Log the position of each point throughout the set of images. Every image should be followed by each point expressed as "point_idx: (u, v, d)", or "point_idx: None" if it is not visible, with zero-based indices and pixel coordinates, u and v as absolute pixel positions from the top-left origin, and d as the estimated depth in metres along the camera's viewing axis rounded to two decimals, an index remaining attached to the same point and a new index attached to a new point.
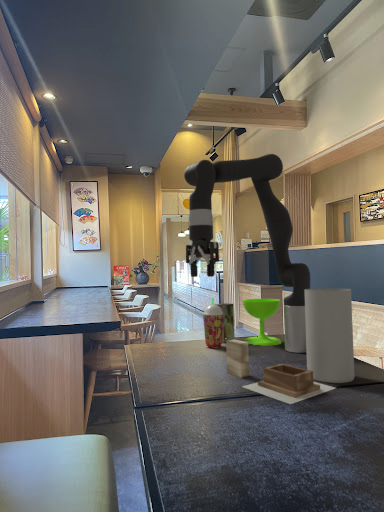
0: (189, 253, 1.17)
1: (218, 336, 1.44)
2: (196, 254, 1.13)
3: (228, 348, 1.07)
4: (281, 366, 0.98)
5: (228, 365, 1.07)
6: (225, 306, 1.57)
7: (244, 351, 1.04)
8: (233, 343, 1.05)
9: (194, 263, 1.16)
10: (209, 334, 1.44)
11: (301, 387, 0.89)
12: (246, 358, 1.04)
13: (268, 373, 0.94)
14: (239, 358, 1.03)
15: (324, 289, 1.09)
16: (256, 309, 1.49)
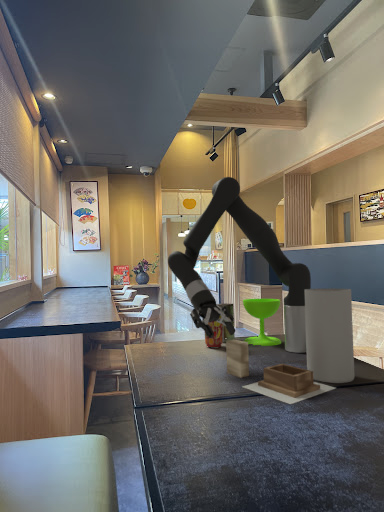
0: None
1: (218, 336, 1.44)
2: None
3: (228, 348, 1.07)
4: (281, 366, 0.98)
5: (228, 365, 1.07)
6: None
7: (244, 351, 1.04)
8: (233, 343, 1.05)
9: (226, 322, 1.17)
10: None
11: (301, 387, 0.89)
12: (246, 358, 1.04)
13: (268, 373, 0.94)
14: (239, 358, 1.03)
15: (324, 289, 1.09)
16: (256, 309, 1.49)
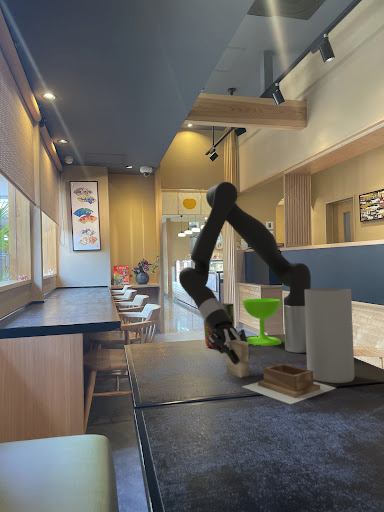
0: (239, 339, 1.12)
1: None
2: None
3: None
4: (281, 366, 0.98)
5: (228, 365, 1.07)
6: (225, 306, 1.57)
7: (244, 351, 1.04)
8: (233, 343, 1.05)
9: None
10: (209, 334, 1.44)
11: (301, 387, 0.89)
12: (246, 358, 1.04)
13: (268, 373, 0.94)
14: (239, 358, 1.03)
15: (324, 289, 1.09)
16: (256, 309, 1.49)
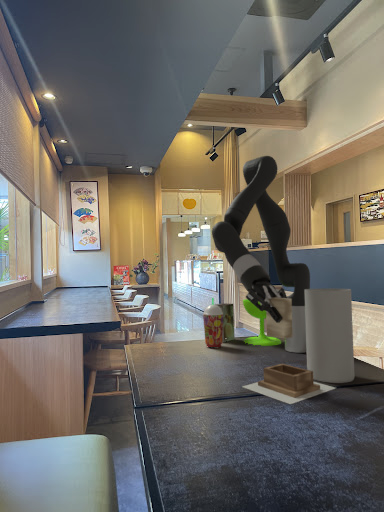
0: None
1: (218, 336, 1.44)
2: None
3: None
4: (281, 366, 0.98)
5: (268, 325, 0.97)
6: (225, 306, 1.57)
7: (288, 308, 0.93)
8: (274, 300, 0.95)
9: None
10: (209, 334, 1.44)
11: (301, 387, 0.89)
12: (289, 316, 0.94)
13: (268, 373, 0.94)
14: (282, 315, 0.93)
15: (324, 289, 1.09)
16: (256, 309, 1.49)
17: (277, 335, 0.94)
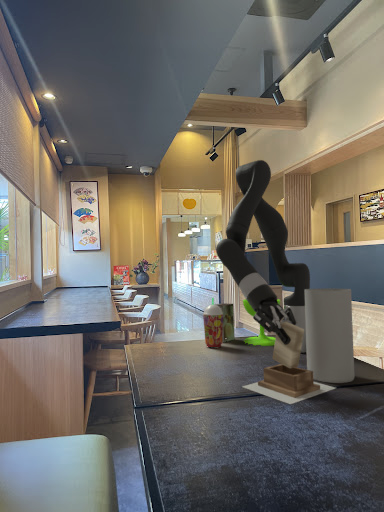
0: None
1: (218, 336, 1.44)
2: None
3: None
4: (281, 366, 0.98)
5: (275, 349, 0.95)
6: (225, 306, 1.57)
7: (299, 339, 0.91)
8: (287, 328, 0.92)
9: None
10: (209, 334, 1.44)
11: (301, 387, 0.89)
12: (299, 346, 0.92)
13: (268, 373, 0.94)
14: (292, 346, 0.91)
15: (324, 289, 1.09)
16: None
17: (283, 362, 0.93)
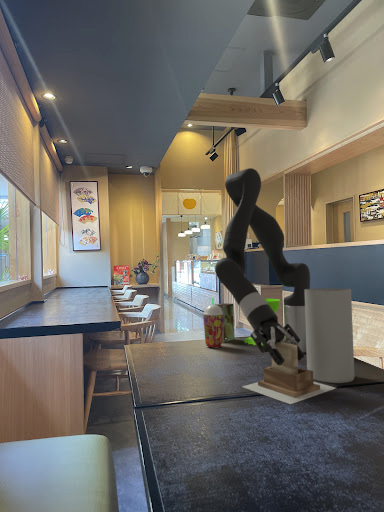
0: None
1: (218, 336, 1.44)
2: None
3: None
4: None
5: None
6: (225, 306, 1.57)
7: (294, 355, 0.92)
8: (280, 346, 0.94)
9: None
10: (209, 334, 1.44)
11: (301, 387, 0.89)
12: (295, 363, 0.92)
13: (268, 373, 0.94)
14: (288, 363, 0.91)
15: (324, 289, 1.09)
16: None
17: None
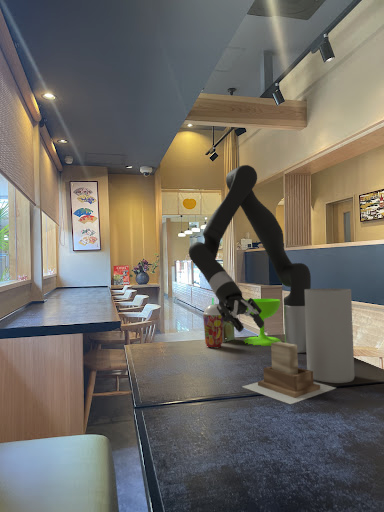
0: None
1: (218, 336, 1.44)
2: None
3: (273, 351, 0.95)
4: None
5: None
6: None
7: (294, 355, 0.92)
8: (280, 346, 0.94)
9: (254, 315, 1.12)
10: (209, 334, 1.44)
11: (301, 387, 0.89)
12: (295, 363, 0.92)
13: (268, 373, 0.94)
14: (288, 363, 0.91)
15: (324, 289, 1.09)
16: None
17: None
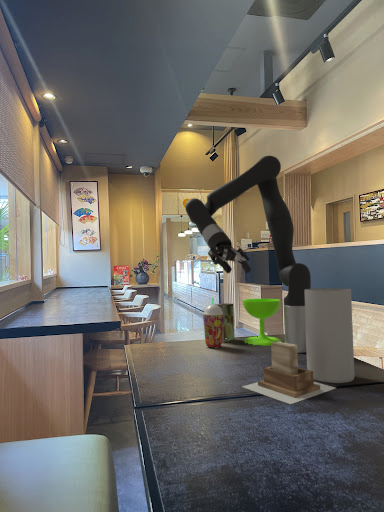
0: None
1: (218, 336, 1.44)
2: None
3: (273, 351, 0.95)
4: None
5: None
6: (225, 306, 1.57)
7: (294, 355, 0.92)
8: (280, 346, 0.94)
9: (242, 262, 1.22)
10: (209, 334, 1.44)
11: (301, 387, 0.89)
12: (295, 363, 0.92)
13: (268, 373, 0.94)
14: (288, 363, 0.91)
15: (324, 289, 1.09)
16: (256, 309, 1.49)
17: None
